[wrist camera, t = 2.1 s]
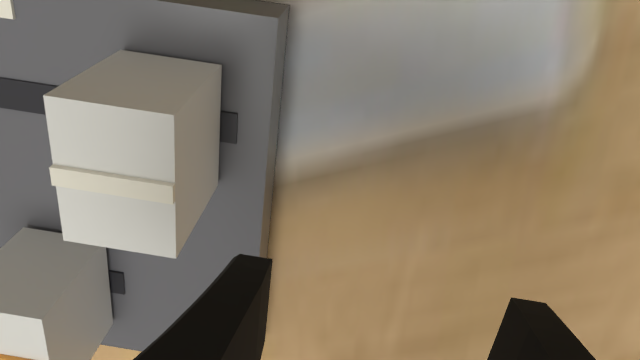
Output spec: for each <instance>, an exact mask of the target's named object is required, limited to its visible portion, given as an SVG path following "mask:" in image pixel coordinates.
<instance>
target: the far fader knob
mask: <svg viewBox="0 0 640 360" xmlns="http://www.w3.org/2000/svg"><path fill="white" fill-rule="evenodd" d="M112 325H113V317H112V307H111V296H110V285H109V275H108V264H107V253H106V247H101V246H94V245H88V244H82V243H76V242H70V241H64V240H63V234H62V233H56V232H50V231H44V230H38V229H31V228H25V227H23V228H22V229H21V230H20V231H19V232H18V233H17V234H15V235H14V236H13V237H12V238H11V239H10V240H9V241H8V242H7V243H6V244H5V245H4V246H2V247H1V248H0V360H91V358H92V356H93V355H94V353H95V352H96V350H97V348H98V347H99V345H100V344H101V342H102V341H103V339H104V337H105V336H106V334H107V333H108V331H109V329H110V328H111V326H112Z"/></svg>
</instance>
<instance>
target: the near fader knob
mask: <svg viewBox="0 0 640 360" xmlns="http://www.w3.org/2000/svg"><path fill="white" fill-rule="evenodd" d="M221 74H222V65H219V64H212V63H206V62H199V61H192V60H186V59H179V58H172V57H165V56H159V55H152V54H145V53H139V52H132V51H125V50H119V51H117V52H116V53H114V54H112V55H111V56H109V57H107V58H106V59H104V60H102V61H101V62H99V63H97V64H95V65H94V66H92V67H90V68H89V69H87V70H85V71H84V72H82V73H80V74H78V75H77V76H75V77H73V78H72V79H70V80H68V81H67V82H65V83H63V84H61V85H60V86H58V87H56V88H55V89H53V90H51V91H50V92H48V93H46V94H44V95H43V98H44V105H45V113H46V120H47V127H48V134H49V141H50V148H51V155H52V162H53V164H52V165H51V166H50V167H49V170H50V177H51V184H52V186H56V191H57V198H58V205H59V212H60V219H61V226H62V234H63V240H64V241H70V242H76V243H82V244H88V245H94V246H101V247H107V248H113V249H119V250H125V251H131V252H138V253H144V254H150V255H156V256H162V257H168V258H175V259H176V258H177V256H178V255H179V253H180V251H181V249H182V248H183V246H184V244H185V242H186V240H187V239H188V237H189V235H190V233H191V232H192V230H193V228H194V226H195V225H196V223H197V221H198V219H199V218H200V216H201V214H202V212H203V211H204V209H205V207H206V205H207V203H208V202H209V200H210V198H211V196H212V195H213V193H214V191H215V189H216V188H217V186H218V173H219V140H220V107H221Z"/></svg>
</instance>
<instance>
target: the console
mask: <svg viewBox="0 0 640 360" xmlns="http://www.w3.org/2000/svg"><path fill="white" fill-rule="evenodd" d="M288 16H289V5H285V4H278V3H272V2H265V1H258V0H0V248H1V247H2V246H4V245H5V244H6V243H7V242H8V241H9V240H10V239H11V238H12V237H13V236H14V235H15V234H17V233H18V232H19V231H20V230H21V229H22V228H23V227H25V228H31V229H38V230H44V231H50V232H56V233H62V226H61V219H60V212H59V205H58V198H57V191H56V186H52V184H51V177H50V170H49V167H50V166H51V165H52V164H53V162H52V155H51V148H50V141H49V134H48V127H47V120H46V113H45V105H44V98H43V95H44V94H46V93H48V92H50V91H51V90H53V89H55V88H56V87H58V86H60V85H61V84H63V83H65V82H67V81H68V80H70V79H72V78H73V77H75V76H77V75H78V74H80V73H82V72H84V71H85V70H87V69H89V68H90V67H92V66H94V65H95V64H97V63H99V62H101V61H102V60H104V59H106V58H107V57H109V56H111V55H112V54H114V53H116V52H117V51H119V50H125V51H132V52H139V53H145V54H152V55H159V56H165V57H172V58H179V59H186V60H192V61H199V62H206V63H212V64H219V65H222V74H221V107H220V140H219V173H218V186H217V188H216V189H215V191H214V193H213V195H212V196H211V198H210V200H209V202H208V203H207V205H206V207H205V209H204V211H203V212H202V214H201V216H200V218H199V219H198V221H197V223H196V225H195V226H194V228H193V230H192V232H191V233H190V235H189V237H188V239H187V240H186V242H185V244H184V246H183V248H182V249H181V251H180V253H179V255H178V256H177V258H176V259H175V258H168V257H162V256H156V255H150V254H144V253H138V252H131V251H125V250H119V249H113V248H107V247H106V253H107V264H108V275H109V285H110V296H111V307H112V317H113V325H112V326H111V328H110V329H109V331H108V333H107V334H106V336H105V337H104V339H103V341H102V342H101V345H107V346H113V347H119V348H125V349H131V350H137V351H143V350H145V349H146V348H147V347H148V346H149V345H150V344H151V343H152V342H153V341H155V340H156V339H157V338H158V337H159V336H160V335H161V334H162V333H163V332H164V331H166V330H167V329H168V328H169V327H170V326H171V325H172V324H173V323H174V322H175V321H176V320H177V319H178V318H179V317H180V316H181V315H182V314H183V313H184V312H185V311H186V310H187V309H188V308H189V307H190V306H191V305H192V304H193V303H194V302H195V301H196V300H197V299H198V297H199V296H200V295H201V294H202V293H203V292H204V291H205V290H206V289H207V288H208V287H209V286H210V285H211V283H212V282H213V281H214V280H215V279H216V278H217V277H218V276H219V274H220V273H221V272H222V271H223V270H224V268H225V267H226V266H227V265H228V264H229V262H230V261H231V260H232V259H233V258H234V257H235V256H237V255H238V254H244V255H250V256H257V257H263V258H267V253H268V241H269V230H270V219H271V207H272V196H273V185H274V174H275V162H276V151H277V140H278V129H279V117H280V106H281V95H282V83H283V72H284V61H285V50H286V38H287V27H288Z"/></svg>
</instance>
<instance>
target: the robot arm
mask: <svg viewBox="0 0 640 360" xmlns="http://www.w3.org/2000/svg"><path fill="white" fill-rule="evenodd" d="M271 269H272V259H269V258H263V257H257V256H250V255H244V254H238V255H237V256H235V257H234V258H233V259H232V260H231V261H230V262H229V264H228V265H227V266H226V267H225V268H224V270H223V271H222V272H221V273H220V274H219V276H218V277H217V278H216V279H215V280H214V281H213V282H212V283H211V285H210V286H209V287H208V288H207V289H206V290H205V291H204V292H203V293H202V294H201V295H200V296H199V297H198V299H197V300H196V301H195V302H194V303H193V304H192V305H191V306H190V307H189V308H188V309H187V310H186V311H185V312H184V313H183V314H182V315H181V316H180V317H179V318H178V319H177V320H176V321H175V322H174V323H173V324H172V325H171V326H170V327H169V328H168V329H167V330H166V331H164V332H163V333H162V334H161V335H160V336H159V337H158V338H157V339H156V340H155V341H153V342H152V343H151V344H150V345H149V346H148V347H147V348H146V349H145V350H143V351H142V352H141V353H140V354H139V355H138V356H137V357H136V358H134V359H133V360H260V359H261V355H262V350H263V346H264V342H265V332H266V321H267V311H268V300H269V290H270V279H271ZM487 360H596V359H595V358H594V357H593V356H592V355H591V354H590V353H589V351H588V350H587V349H586V348H585V347H584V346H583V345H582V343H581V342H580V341H579V340H578V339H577V338H576V336H575V335H574V334H573V333H572V332H571V331H570V330H569V328H568V327H567V326H566V325H565V324H564V323H563V322H562V320H561V319H560V318H559V317H558V316H557V315H556V314H555V313H554V312H553V310H552V309H551V308H550V307H549V306H548V305H547V304H546V303H542V302H536V301H530V300H523V299H517V298H511V299H510V302H509V305H508V307H507V310H506V312H505V315H504V318H503V320H502V323H501V325H500V328H499V331H498V333H497V336H496V338H495V341H494V344H493V346H492V349H491V351H490V354H489V357H488V359H487Z"/></svg>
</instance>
